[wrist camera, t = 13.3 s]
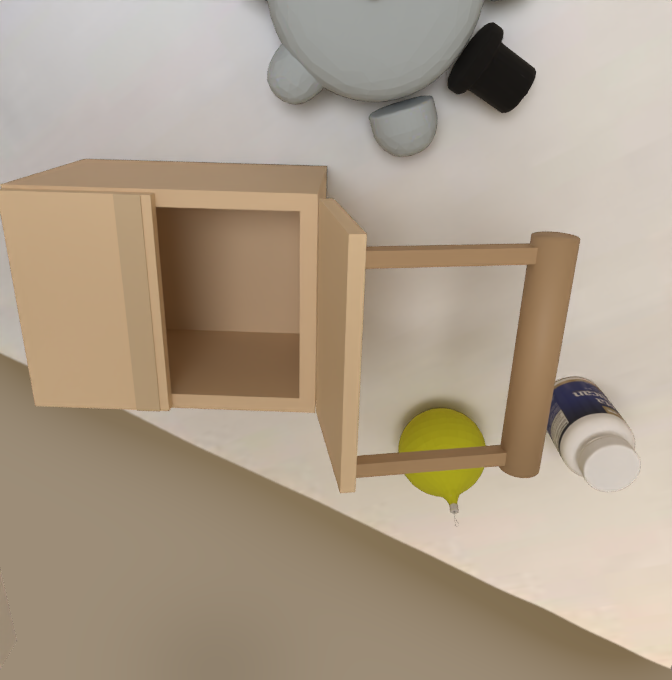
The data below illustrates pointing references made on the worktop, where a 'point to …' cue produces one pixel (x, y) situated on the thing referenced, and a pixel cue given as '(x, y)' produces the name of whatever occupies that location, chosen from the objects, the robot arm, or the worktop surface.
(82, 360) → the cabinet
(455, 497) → the ornament
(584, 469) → the pill bottle
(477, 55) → the figurine
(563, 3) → the worktop surface
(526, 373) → the tan handled panel part
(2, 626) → the robot arm
